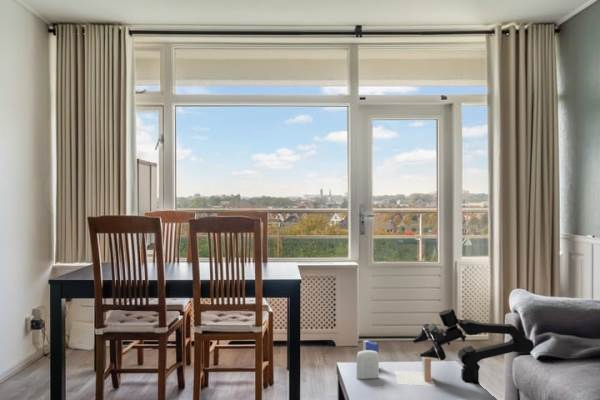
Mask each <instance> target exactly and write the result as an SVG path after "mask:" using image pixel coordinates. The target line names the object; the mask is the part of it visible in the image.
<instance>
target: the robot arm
mask: <svg viewBox="0 0 600 400" xmlns="http://www.w3.org/2000/svg"><path fill="white" fill-rule="evenodd" d="M438 316H439V318H440V320H441V322H442V324H443V326H444V327H447V328H446V329H443V328H442V327H441V328H439V327H438V326H437V325H435V324H434V323H433V322H432V323H431V324H429V323H425V324H422V328H421V333H419V335H417V336H416V337H415V339H413V340H412V342H413V344H415V343H421V342H425V341H429V339H430V340H431V342H432V344H433V345H432V347H430V348H429V349H428V350H426V351H424V352H422V353H419V357H421V358H422V357H430V358H432V359H437V360H440V361H444V360H445V359H447V355H446V353H445V351H444V349H443V346H445V345H446V344H447V345H448V346H450V345H451V342H454V341H457V340H458V339H460V340H461V341H462V342H463V343H464V342H465V340H466V338H467V336H474V335H480V334H497V335H498V334H500V335H501V334H502V335H509V336H510V337H511V339H509V340H508V341H506V342H501V343H498V344H493V345H488V346H486V347H481V348H474V347H473V346H472V345H469V346H466V347H463V346H462V349H459V351H458V353H457V358H458V360H459V361H460V362H461V363H462V369H460V371H461V374H460V375H461V376H460V377H461V380H462V381H463V382H464V383H468V384H475V385H476V384H477V385H480V384H481V382H480V380H479V377H480V376H479V375H480V373H479V371H480V368H481V366H480V364H479V362H481V360H485V359H488V358H493V357H497V356H501V355H506V354H511V353H520V354H521V353H523V354H524V353H530V352H533V350H534V347H535V344H534V341H533V340H532V339H530V338H529V337H527V336H526V335H524V334H522V332H520V330H518V329H517V327H516V326H515V325H513V324H511V323H491V322H490V323H489V322H487V323H486V322H480V321H476V320H473V319H467V318H465V319H460V318H458V317H457V315H456V312H455V310H454V309H453V308H451V309H446V310H442V311H440V312H439V314H438ZM458 326H459V327H458ZM463 332H464V333H465V334H464V333H463ZM466 335H467V336H466Z"/></svg>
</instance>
